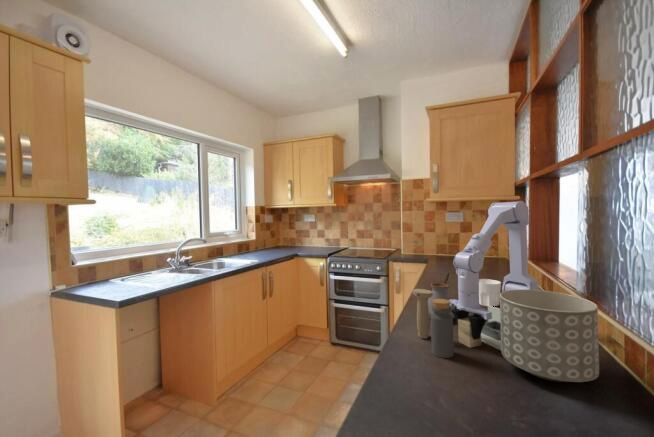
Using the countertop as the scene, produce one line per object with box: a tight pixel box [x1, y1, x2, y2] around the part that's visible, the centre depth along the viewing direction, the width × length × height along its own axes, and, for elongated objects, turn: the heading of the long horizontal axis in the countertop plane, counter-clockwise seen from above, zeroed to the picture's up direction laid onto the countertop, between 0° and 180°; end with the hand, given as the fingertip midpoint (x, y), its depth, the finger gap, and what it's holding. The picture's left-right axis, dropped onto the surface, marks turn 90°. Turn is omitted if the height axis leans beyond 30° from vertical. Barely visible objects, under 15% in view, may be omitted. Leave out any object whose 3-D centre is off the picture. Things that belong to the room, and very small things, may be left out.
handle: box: [411, 288, 433, 340], centre depth 92 cm, size 5×6×15 cm
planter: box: [499, 289, 600, 383], centre depth 70 cm, size 19×19×18 cm
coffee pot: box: [428, 272, 455, 320], centre depth 113 cm, size 21×12×15 cm, turn 144°
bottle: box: [430, 299, 455, 359], centre depth 81 cm, size 6×6×15 cm
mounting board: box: [481, 306, 501, 351], centre depth 91 cm, size 13×16×7 cm
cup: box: [479, 278, 502, 307], centre depth 125 cm, size 10×10×10 cm
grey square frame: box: [481, 320, 501, 341], centre depth 91 cm, size 9×8×2 cm
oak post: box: [457, 318, 482, 348], centre depth 87 cm, size 4×4×7 cm
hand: (469, 335), depth 87 cm, fingers closed on oak post, 4 cm apart
